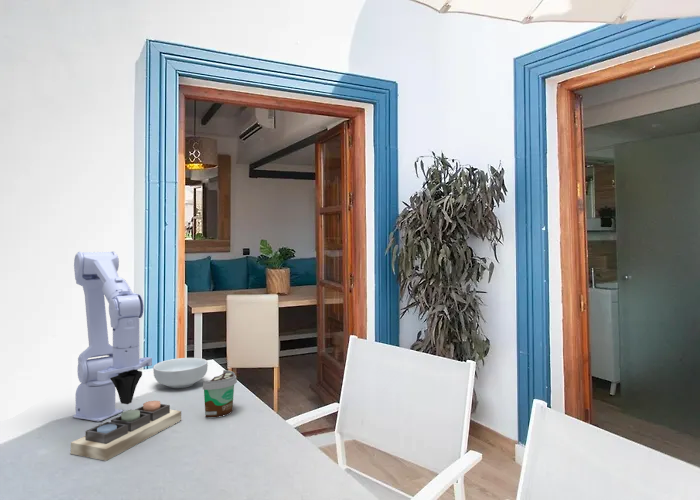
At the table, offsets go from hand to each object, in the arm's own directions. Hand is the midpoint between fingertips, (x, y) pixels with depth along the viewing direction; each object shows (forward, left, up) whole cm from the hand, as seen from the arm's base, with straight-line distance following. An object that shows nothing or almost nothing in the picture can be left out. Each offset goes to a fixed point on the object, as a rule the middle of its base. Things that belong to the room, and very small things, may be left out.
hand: (126, 402), depth 111 cm
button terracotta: (0, +8, -4) cm, 9 cm away
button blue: (0, -6, -6) cm, 8 cm away
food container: (+12, +22, -9) cm, 27 cm away
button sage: (0, +1, -4) cm, 5 cm away
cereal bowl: (-16, +39, -9) cm, 43 cm away
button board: (0, +1, -8) cm, 8 cm away
